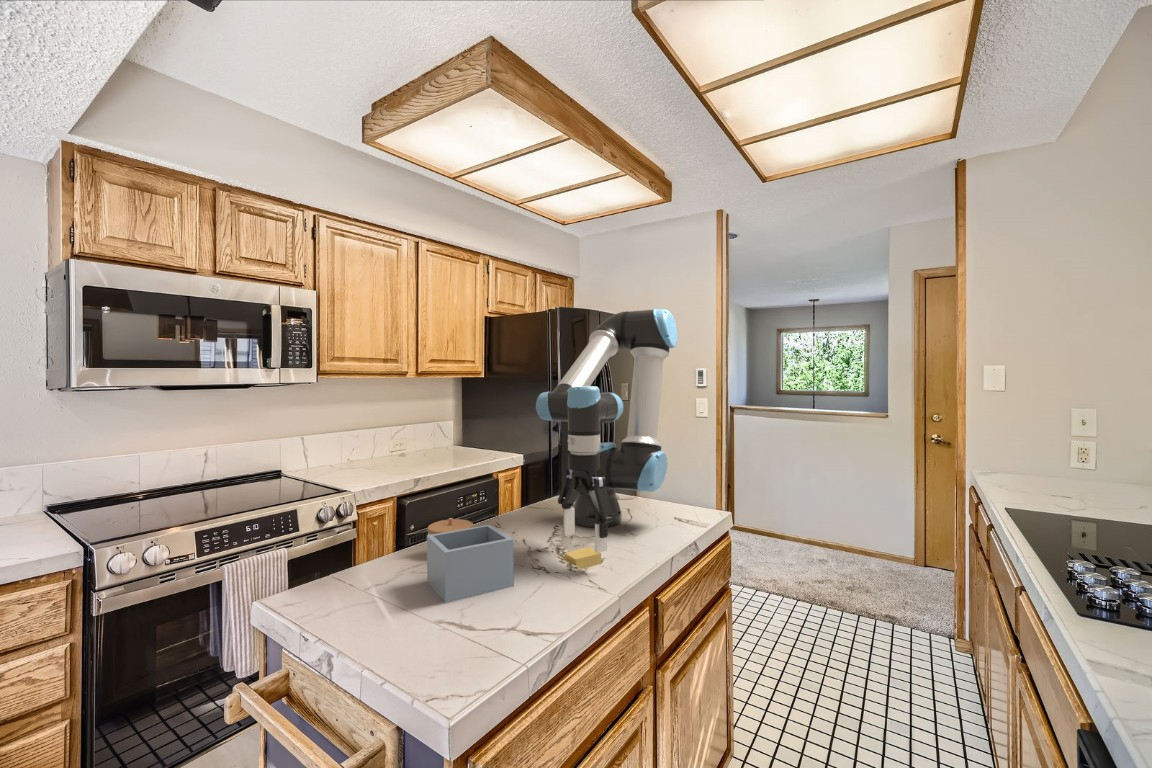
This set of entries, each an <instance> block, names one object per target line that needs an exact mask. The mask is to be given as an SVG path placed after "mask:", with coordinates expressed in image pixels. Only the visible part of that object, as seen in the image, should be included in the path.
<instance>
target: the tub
mask: <svg viewBox="0 0 1152 768" xmlns="http://www.w3.org/2000/svg"><path fill="white" fill-rule="evenodd" d="M514 569H515V568H514V539H513V538H512V537H511V536H509V535H508V534H506V533H505V532H503V531H501V530H500V529H499V528H496V527H495V526H493V525H491V524H486V525H479V526H473V528H467V529H461V530H455V531H450V532H444V533H438V534H432V535H428V534H427V535H426V574H427V575H426V578H427V579H426V581H427V582H428V584H429V586H431V587H432V588H433V590H434V591H435V592H436V594H437V595H439V597H440V598H441V599H442V601H443V602H444V603H445V604H448V603H452V602H456V601H460V600H464V599H468V598H469V599H470V598H472V597H476V596H480V595H485V594H488V593H492V592H496V591H500V590H504V589H507V588H513V587H514V584H515V581H514V578H515V576H514V574H515V573H514V572H515V571H514Z"/></svg>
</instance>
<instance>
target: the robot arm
mask: <svg viewBox="0 0 1152 768" xmlns="http://www.w3.org/2000/svg"><path fill="white" fill-rule="evenodd" d="M677 343H678V330H677V324H676V321H675V318H674V316H673V314H672V312H671V311H669V310H667V309H659V308H658V309H657V308H654V309H644V310H632V311H631V310H630V311H628V310H627V311H619V312H617V313H616V314H613V315H612V316H611V315H610V316H609V317H608V318H606V319H605V320H604V321H602V322H601V323H600V324H598V326H596V328H595V329H594V330H593V331H592V333H591V334H590V335H589V338H588V343H587V345H586V346H585V348H584V349H583V350H582V352H580V354H579V356H578V357H577V358H576V360H575V361H574V362H573V363H572V365H571V366H570V368H569V370H567V371H566V373H565V375H564V376H563V377H562V379H560V381H559V383H558V384H557V386H556V387H555V388H554V389H553V390H552V391H544V392H542V393H540V394H539V395H538V396H537V398H536V401H535V411H536V413H537V415H538V417H539V418H540V419H541V420H544V421H551V422H567V451H569V453H568V454H567V468H565V469H564V475H563V481H562V485H561V489H560V491H559V496H558V498H557V504H558V505H561V507H562V509H563V514H562V516H563V517H562V518H563V537H571V536H573V535H574V536H575V534H576V533H575V532H576V527H575V525H578V526H581V527H586V528H587V527H588V528H590V527H591V528H594V550H595V552H596V553H599V552H600V553H603V552H606V551H607V552H608V533H609V532H608V531H609V530H608V528H609V527H613V526H616V525H619V524H621V522H622V520H623V519H622V510H621V507H620V503H619V501H618V498H617V491H616V490H617V489H618V490H619V489H621V490H627V491H637V492H641V493H644V492H645V493H647V492H648V493H654V492H656V491H658V490H659V489H660V488H661V486H662V485H663V483H664V481H665V479H666V474H667V472H668V471H667V470H668V456H667V454H666V452H664V450H662V445H661V443H660V442H659V440H658V438H657V437H658V428H659V427H658V426H659V417H660V416H659V415H660V404H661V394H662V393H661V392H662V380H663V368H664V360H665V359H667V358H668V357H669V355H670V349H673V348H675V347H676V345H677ZM621 350H629V353H630V354H631V356H632V357H633V358H634V362H633V371H632V383H631V394H630V403H629V404H630V405H629V411H628V413H629V415H628V424H627V434H626V437H625V438H624V439H622V441H621V442H620V443H621V444H620V448H618V447H617V444H616V443H615V442H601V424H607V423H608V424H611V423H613V422H614V421H617V420H619V419H620V418H621V416H622V414H623V413H624V402H623V400H622V399H621V397H620V396H619V395H618V394H616V393H614V392H609V391H608V392H600V388H599V387H598V386H596V385H595V386H594V385H592V384H593V382H594V381H595V380H596V378H597V376H598V375H599V374H600V372H601V370H602V369H603V367H604V366H605V364H606V363H607V362H608V360H609V359H610V358H611V357H614V356H615V355H616V353H617V352H618V351H621Z"/></svg>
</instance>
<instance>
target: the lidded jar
mask: <svg viewBox="0 0 1152 768" xmlns="http://www.w3.org/2000/svg"><path fill="white" fill-rule="evenodd" d="M473 527H474V523H473V522H472V521H471V520H467V519H459V518H453V517H449V518H448V519H442V520H439V521H435V522H433V523H431V524H429V525H428V527H427V535H432V534H438V533H444V532H450V531H455V530H461V529H467V528H473Z"/></svg>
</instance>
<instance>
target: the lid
mask: <svg viewBox="0 0 1152 768" xmlns="http://www.w3.org/2000/svg"><path fill="white" fill-rule="evenodd" d="M563 554H564V555H563V557H564V558H563V557H562V556H560V555H558V554H556V556H557V557H558V558H561V559H562V560H564V561H565V562H568V563H570V564H571V565H572V566H574V567H576V568H578V569H579V570H581V571H583V569H587V568H591V567H593V566H598V565H601V564H602V552H599V553H596V552H595V548H592V547H589V546H588V547H583V548H579V549H575V550H571V551H567V552H564V553H563Z"/></svg>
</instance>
